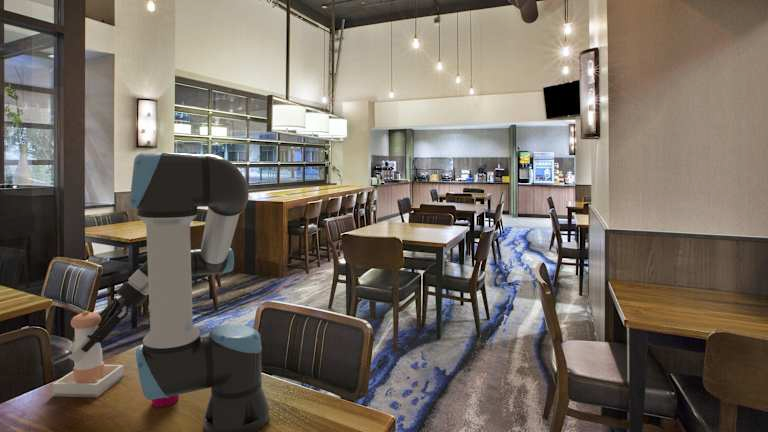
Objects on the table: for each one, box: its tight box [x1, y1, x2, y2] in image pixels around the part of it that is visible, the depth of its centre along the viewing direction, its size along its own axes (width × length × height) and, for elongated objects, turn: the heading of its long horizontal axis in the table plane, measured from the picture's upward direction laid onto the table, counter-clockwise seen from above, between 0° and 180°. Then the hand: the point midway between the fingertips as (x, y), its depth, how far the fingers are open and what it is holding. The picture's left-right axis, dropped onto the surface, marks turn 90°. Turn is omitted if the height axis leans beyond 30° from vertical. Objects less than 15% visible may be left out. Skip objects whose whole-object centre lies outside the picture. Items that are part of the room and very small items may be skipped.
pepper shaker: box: [70, 310, 105, 383], centre depth 121 cm, size 7×7×19 cm
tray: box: [51, 364, 125, 398], centre depth 122 cm, size 12×12×4 cm
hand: (72, 355), depth 119 cm, fingers closed on pepper shaker, 6 cm apart
